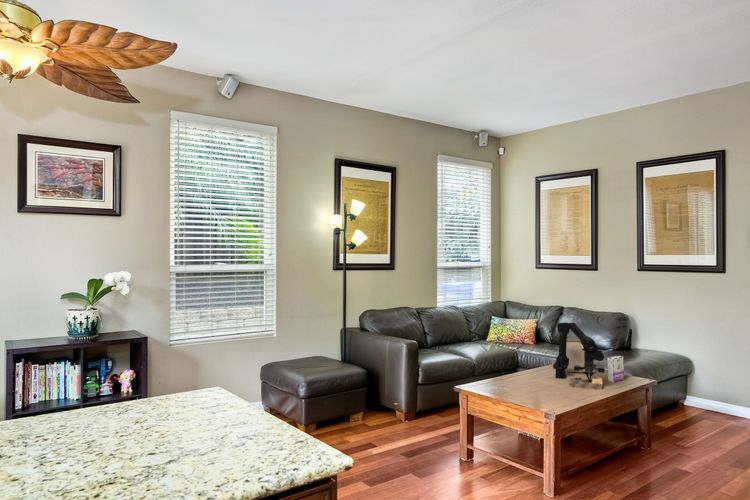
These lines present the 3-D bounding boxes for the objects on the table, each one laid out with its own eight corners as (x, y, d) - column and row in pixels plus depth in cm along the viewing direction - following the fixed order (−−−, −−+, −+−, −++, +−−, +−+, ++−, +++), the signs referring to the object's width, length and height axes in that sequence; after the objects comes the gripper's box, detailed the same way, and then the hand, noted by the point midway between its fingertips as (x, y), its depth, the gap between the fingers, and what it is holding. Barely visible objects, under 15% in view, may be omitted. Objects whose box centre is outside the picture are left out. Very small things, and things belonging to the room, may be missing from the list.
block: (592, 386, 330) (592, 378, 330) (592, 384, 335) (592, 376, 335) (602, 387, 327) (602, 379, 327) (602, 384, 333) (602, 377, 333)
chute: (569, 386, 334) (568, 380, 334) (569, 383, 343) (569, 376, 343) (602, 389, 326) (601, 382, 326) (601, 385, 335) (601, 379, 335)
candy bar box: (618, 378, 353) (617, 355, 353) (624, 380, 349) (624, 356, 349) (607, 380, 348) (606, 357, 348) (613, 382, 344) (613, 358, 344)
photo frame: (594, 373, 368) (593, 339, 369) (563, 372, 373) (562, 339, 374) (590, 369, 383) (589, 336, 384) (560, 368, 388) (559, 336, 389)
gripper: (573, 359, 330) (573, 383, 330) (604, 361, 322) (604, 386, 322) (574, 356, 340) (574, 379, 340) (604, 358, 333) (604, 382, 332)
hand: (589, 381), depth 333 cm, fingers closed
